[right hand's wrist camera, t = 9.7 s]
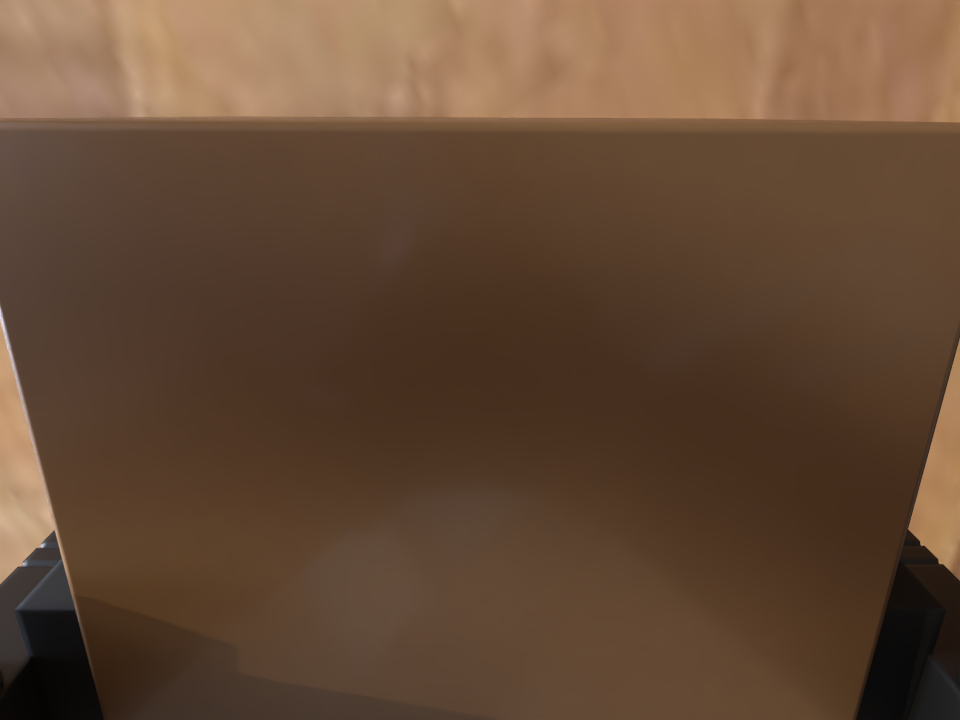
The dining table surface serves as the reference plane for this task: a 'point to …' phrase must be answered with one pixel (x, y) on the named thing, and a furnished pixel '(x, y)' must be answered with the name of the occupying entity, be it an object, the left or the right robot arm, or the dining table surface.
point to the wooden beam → (480, 406)
